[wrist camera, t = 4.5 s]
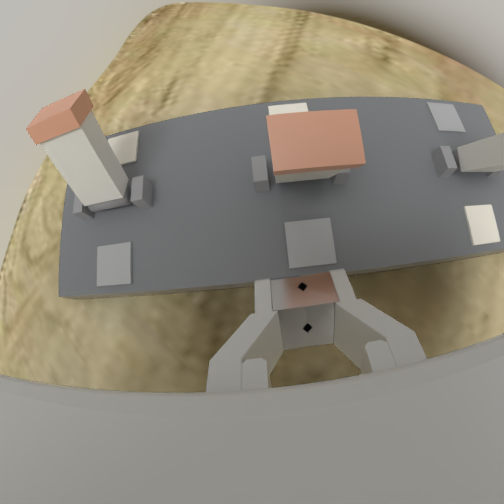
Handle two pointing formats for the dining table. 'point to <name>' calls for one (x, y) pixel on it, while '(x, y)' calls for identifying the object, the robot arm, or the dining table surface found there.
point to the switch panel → (283, 202)
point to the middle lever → (314, 144)
